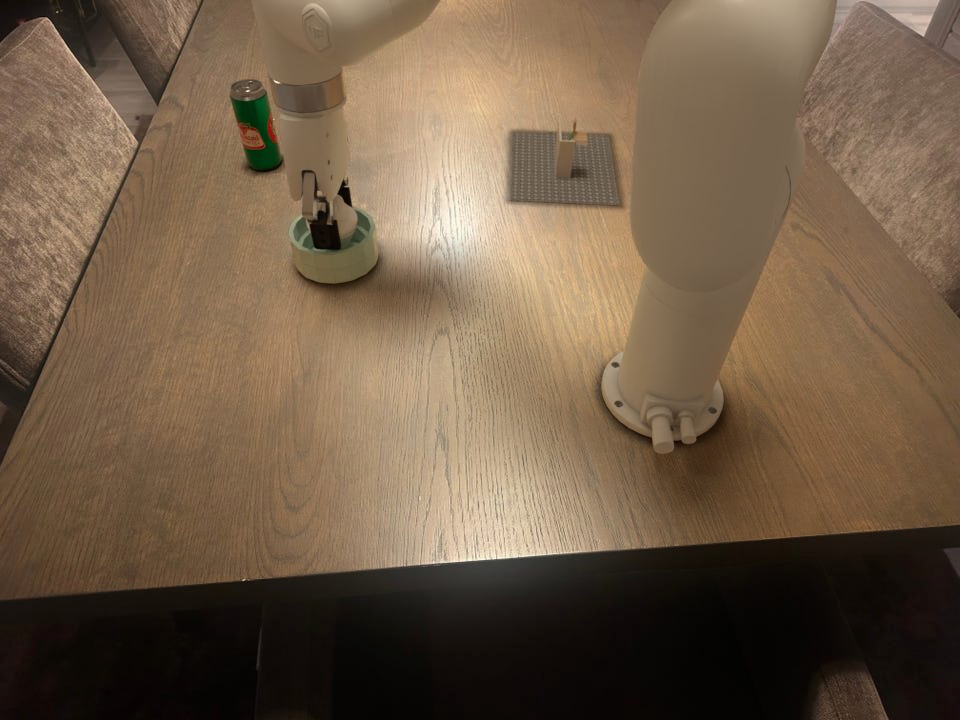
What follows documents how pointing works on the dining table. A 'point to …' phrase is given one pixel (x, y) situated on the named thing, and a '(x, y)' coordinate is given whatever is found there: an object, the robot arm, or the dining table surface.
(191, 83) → the dining table surface
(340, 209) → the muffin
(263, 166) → the soda can
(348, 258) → the bowl
